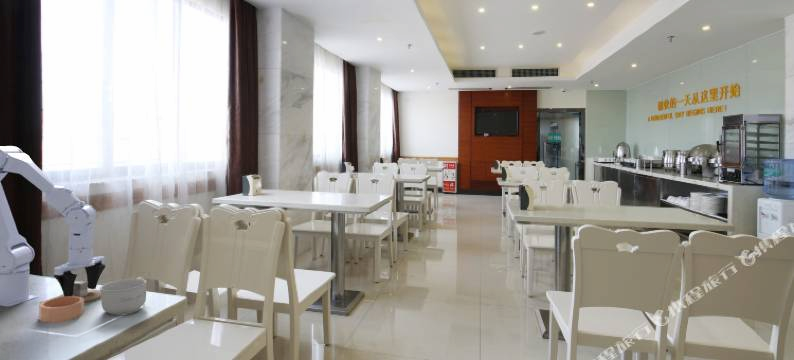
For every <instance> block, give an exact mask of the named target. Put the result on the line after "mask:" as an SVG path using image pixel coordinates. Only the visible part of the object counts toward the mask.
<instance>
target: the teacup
mask: <svg viewBox="0 0 794 360" xmlns="http://www.w3.org/2000/svg"><path fill="white" fill-rule="evenodd" d="M99 290H100V291H101V300H100V301H101V303H100V304H101V307H102V310H103V311H104V312H106V313H108V314H110V315H112V316H113V315H114V316H125V315H130V314H133V313H136V312H137V311H139V310H140V308H141V307H143V306H144V305H145V303H146V300H147V280H146V279H145V278H144V277H142V276H139V277H136V278H125V279H119V280H118V279H117V280H114V281H111V282H107V283H105V284H103V285H101V286H100V287H99Z"/></svg>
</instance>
